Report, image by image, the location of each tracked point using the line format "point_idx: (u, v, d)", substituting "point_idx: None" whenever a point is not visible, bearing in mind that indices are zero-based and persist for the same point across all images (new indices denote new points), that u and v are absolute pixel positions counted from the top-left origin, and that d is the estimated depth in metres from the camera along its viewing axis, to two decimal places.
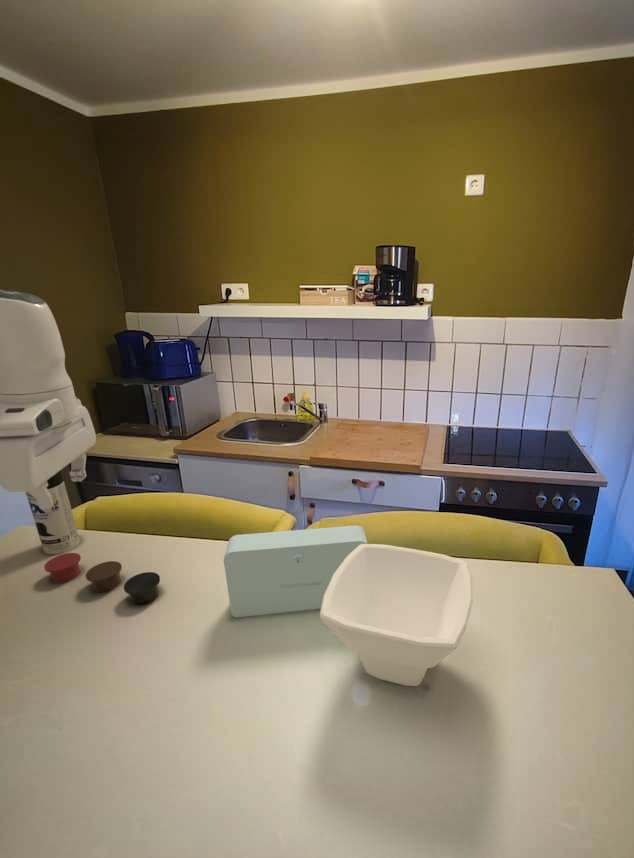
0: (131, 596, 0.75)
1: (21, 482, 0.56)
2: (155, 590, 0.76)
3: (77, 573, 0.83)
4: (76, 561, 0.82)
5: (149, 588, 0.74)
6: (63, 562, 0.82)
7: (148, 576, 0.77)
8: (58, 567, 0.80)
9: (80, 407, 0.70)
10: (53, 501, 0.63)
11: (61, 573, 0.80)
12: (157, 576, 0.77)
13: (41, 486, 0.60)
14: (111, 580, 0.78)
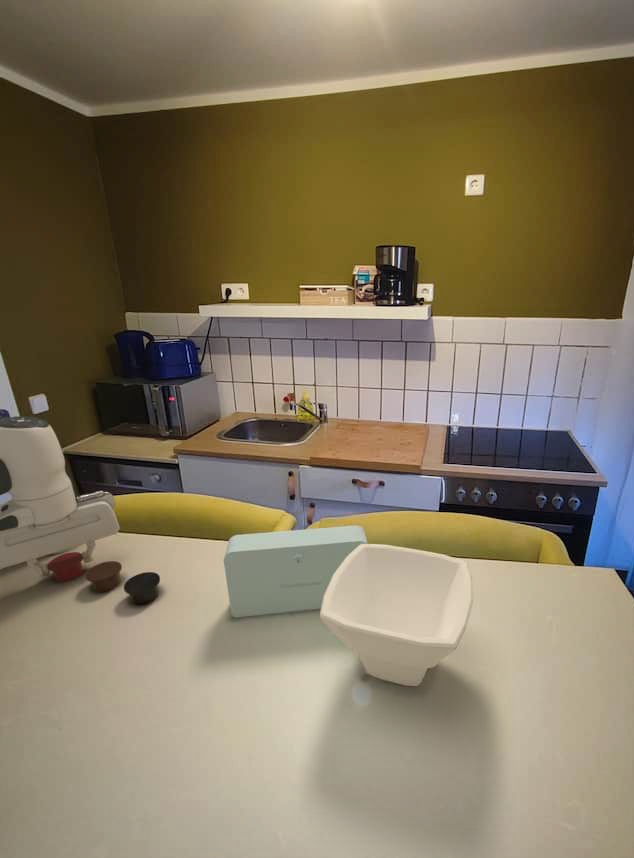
0: (131, 596, 0.75)
1: None
2: (155, 590, 0.76)
3: (80, 572, 0.83)
4: (79, 560, 0.82)
5: (149, 588, 0.74)
6: (66, 561, 0.82)
7: (148, 576, 0.77)
8: (61, 566, 0.80)
9: (96, 505, 0.81)
10: (43, 573, 0.80)
11: (64, 572, 0.80)
12: (157, 576, 0.77)
13: (27, 562, 0.77)
14: (111, 580, 0.78)
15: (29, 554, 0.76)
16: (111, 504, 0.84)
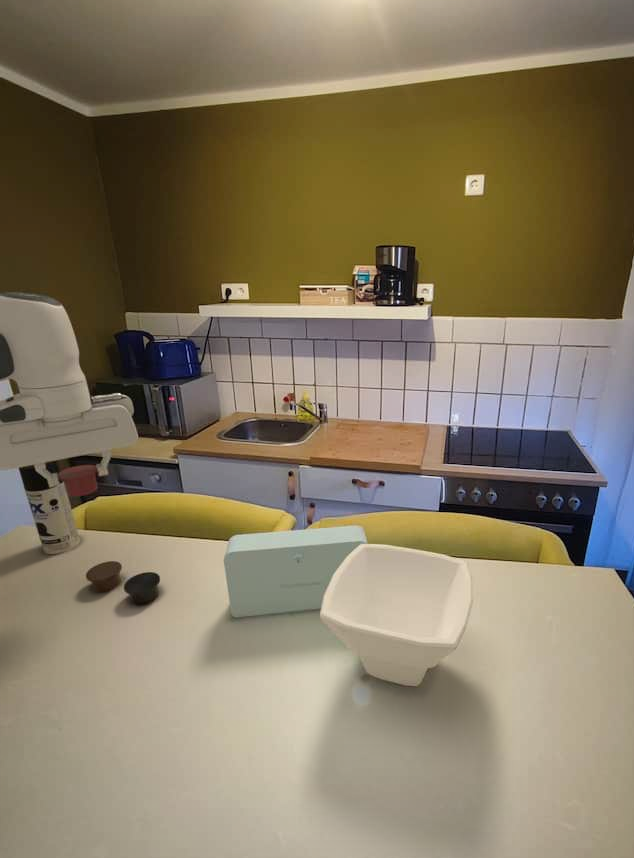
0: (131, 596, 0.75)
1: None
2: (155, 590, 0.76)
3: (94, 486, 0.73)
4: (93, 471, 0.73)
5: (149, 588, 0.74)
6: (78, 472, 0.72)
7: (148, 576, 0.77)
8: (73, 476, 0.71)
9: (113, 407, 0.71)
10: (53, 482, 0.70)
11: (76, 482, 0.71)
12: (157, 576, 0.77)
13: (35, 467, 0.68)
14: (111, 580, 0.78)
15: (37, 456, 0.67)
16: (129, 410, 0.74)
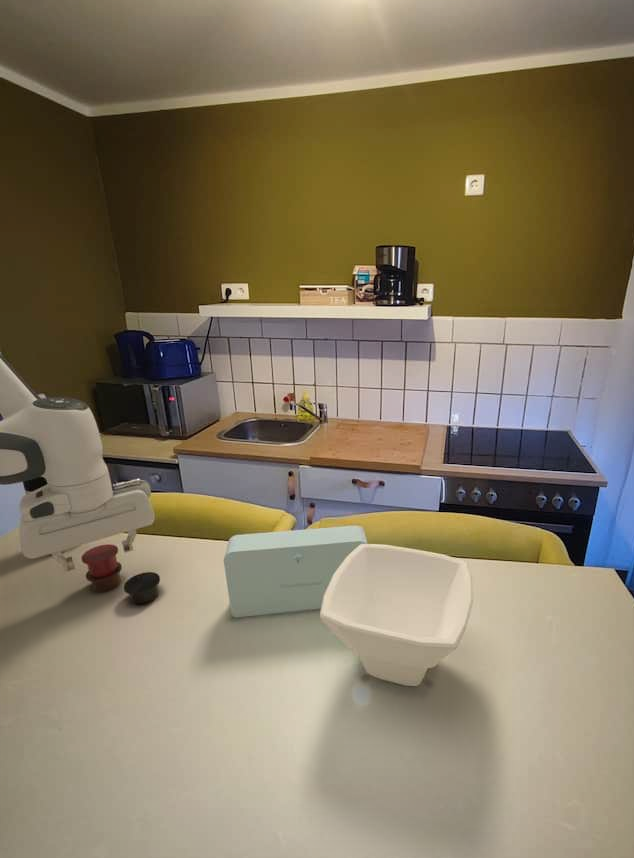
0: (131, 596, 0.75)
1: (22, 551, 0.70)
2: (155, 590, 0.76)
3: (115, 565, 0.79)
4: (114, 553, 0.78)
5: (149, 588, 0.74)
6: (101, 554, 0.78)
7: (148, 576, 0.77)
8: (96, 559, 0.76)
9: (132, 493, 0.77)
10: (68, 567, 0.75)
11: (99, 565, 0.76)
12: (157, 576, 0.77)
13: (52, 555, 0.73)
14: (111, 580, 0.78)
15: (63, 544, 0.72)
16: (147, 493, 0.80)
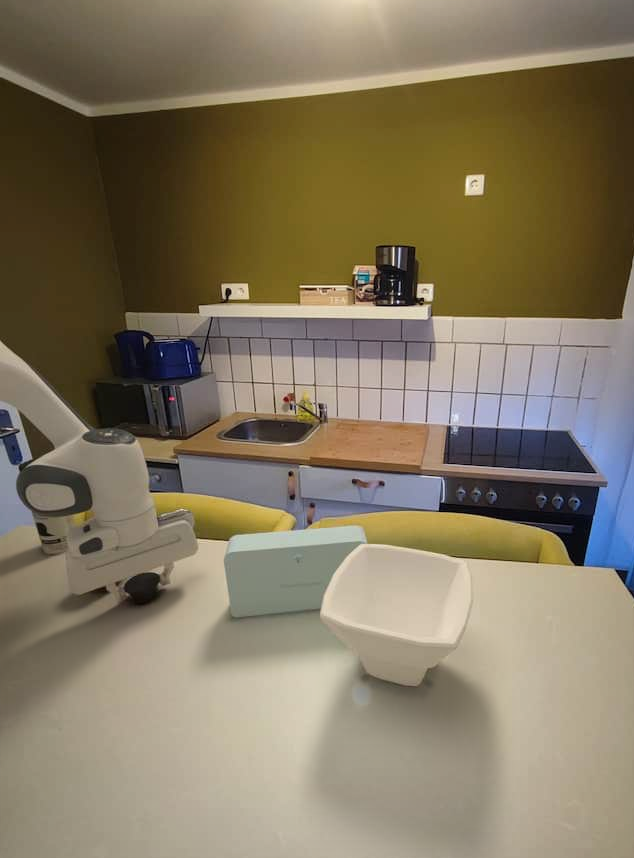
0: (131, 596, 0.75)
1: None
2: (155, 590, 0.76)
3: None
4: None
5: (149, 588, 0.74)
6: None
7: (148, 576, 0.77)
8: None
9: (177, 524, 0.75)
10: (121, 598, 0.74)
11: None
12: (157, 576, 0.77)
13: (106, 586, 0.71)
14: None
15: (109, 578, 0.71)
16: (191, 523, 0.78)
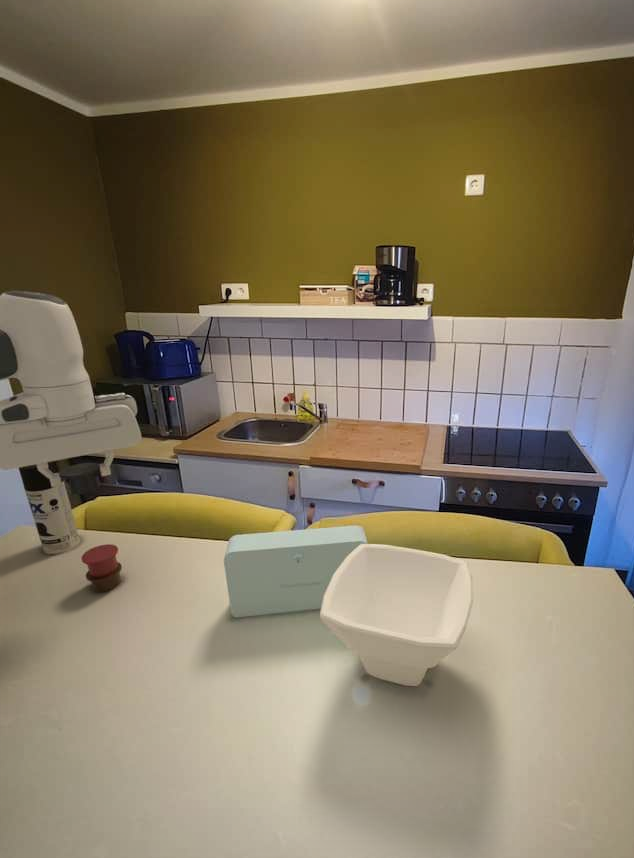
0: (67, 482, 0.70)
1: None
2: (93, 478, 0.72)
3: (115, 565, 0.79)
4: (114, 553, 0.78)
5: (86, 473, 0.70)
6: (101, 554, 0.78)
7: (87, 465, 0.73)
8: (96, 559, 0.76)
9: (116, 407, 0.71)
10: (55, 482, 0.69)
11: (99, 565, 0.76)
12: (97, 465, 0.73)
13: (37, 466, 0.67)
14: (111, 580, 0.78)
15: (40, 456, 0.66)
16: (133, 410, 0.74)
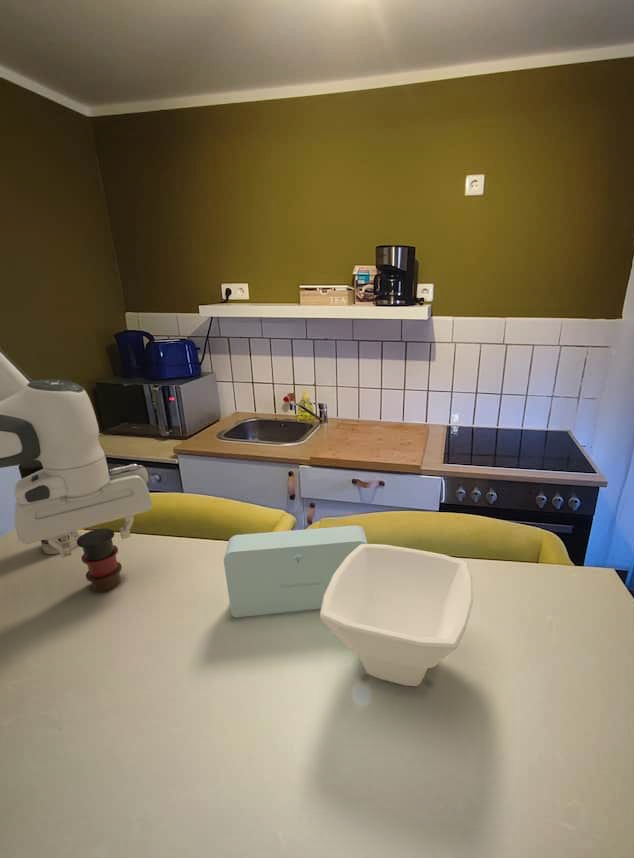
0: (84, 550, 0.75)
1: None
2: (108, 545, 0.77)
3: (115, 565, 0.79)
4: (114, 553, 0.78)
5: (102, 542, 0.75)
6: None
7: (102, 532, 0.78)
8: None
9: (129, 478, 0.76)
10: (65, 553, 0.74)
11: (99, 565, 0.76)
12: (111, 532, 0.78)
13: (48, 540, 0.72)
14: (111, 580, 0.78)
15: (59, 529, 0.71)
16: (144, 478, 0.79)
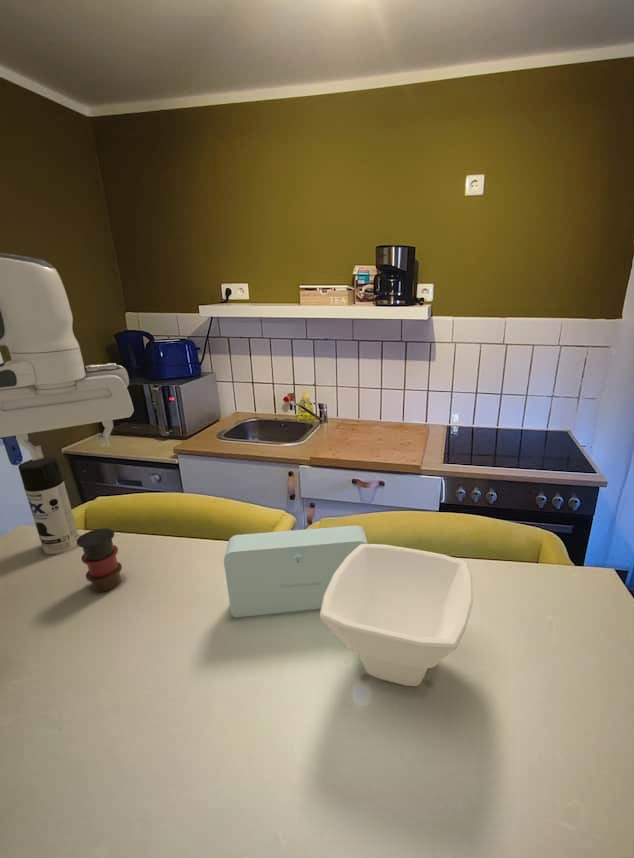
0: (84, 550, 0.75)
1: None
2: (108, 545, 0.77)
3: (115, 565, 0.79)
4: (114, 553, 0.78)
5: (102, 542, 0.75)
6: None
7: (102, 532, 0.78)
8: None
9: (107, 377, 0.70)
10: (36, 455, 0.67)
11: (99, 565, 0.76)
12: (111, 532, 0.78)
13: (16, 438, 0.65)
14: (111, 580, 0.78)
15: (29, 425, 0.65)
16: (125, 381, 0.72)
